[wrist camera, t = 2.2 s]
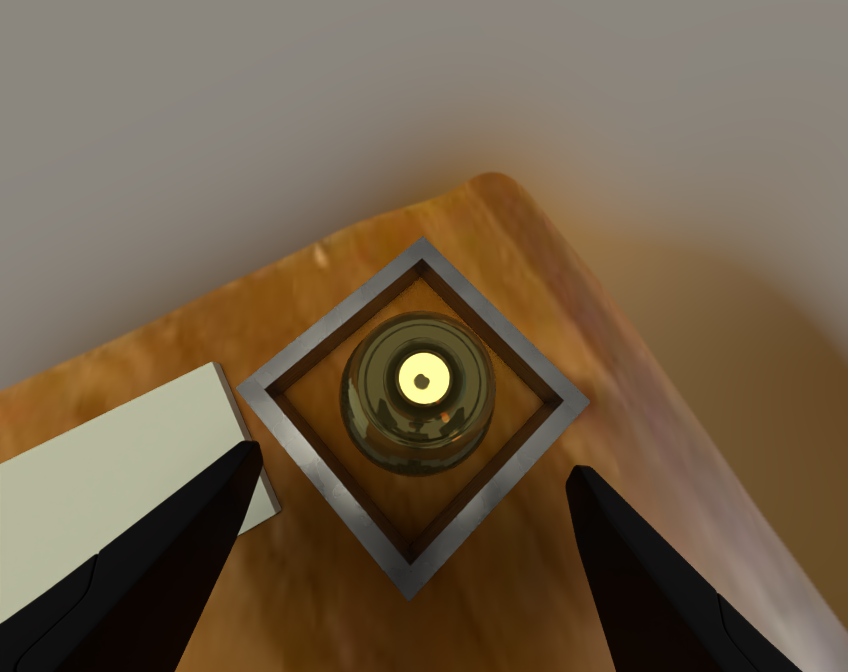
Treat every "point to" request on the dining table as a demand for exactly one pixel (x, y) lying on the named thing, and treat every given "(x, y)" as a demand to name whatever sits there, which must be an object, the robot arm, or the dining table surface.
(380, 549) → the grey square frame
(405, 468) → the brass rounded piece
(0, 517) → the tile
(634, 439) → the dining table surface
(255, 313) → the dining table surface
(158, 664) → the robot arm
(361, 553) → the dining table surface
